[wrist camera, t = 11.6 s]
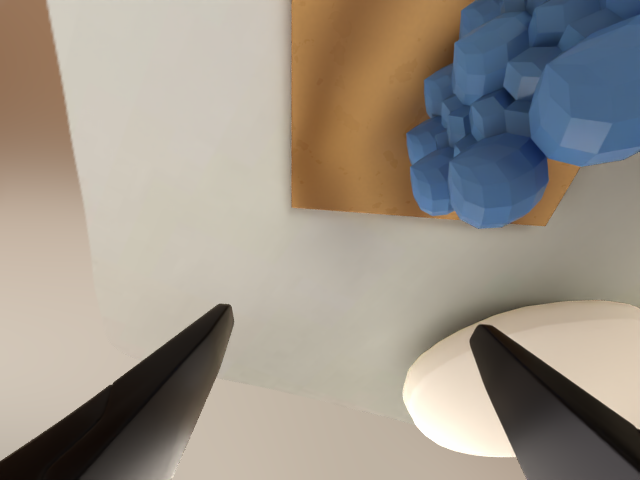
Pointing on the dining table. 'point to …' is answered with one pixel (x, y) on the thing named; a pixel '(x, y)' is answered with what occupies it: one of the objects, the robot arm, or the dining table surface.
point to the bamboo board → (373, 103)
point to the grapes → (526, 104)
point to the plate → (544, 342)
